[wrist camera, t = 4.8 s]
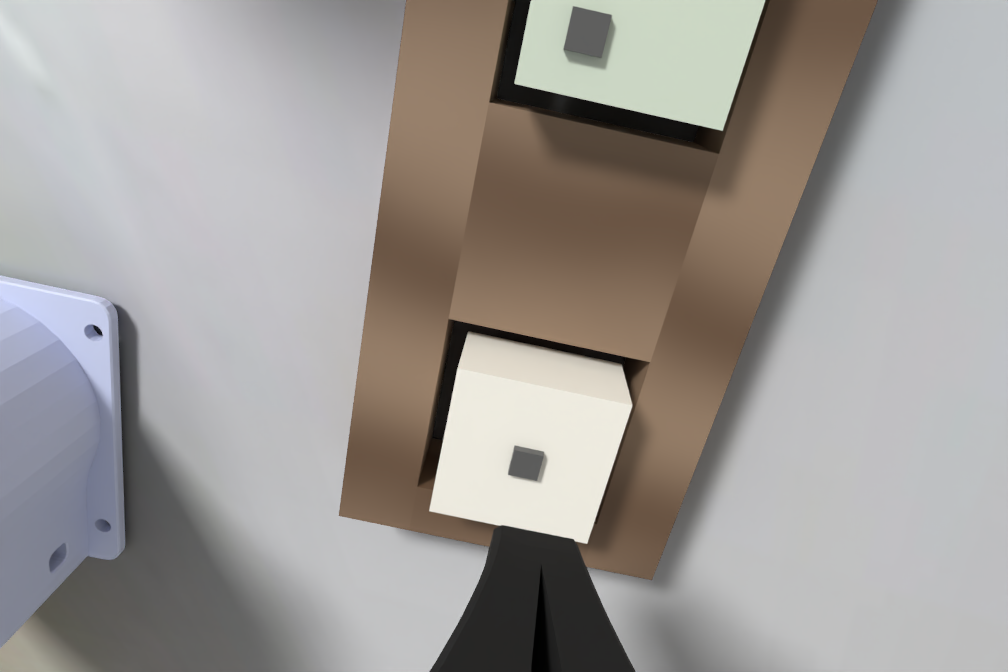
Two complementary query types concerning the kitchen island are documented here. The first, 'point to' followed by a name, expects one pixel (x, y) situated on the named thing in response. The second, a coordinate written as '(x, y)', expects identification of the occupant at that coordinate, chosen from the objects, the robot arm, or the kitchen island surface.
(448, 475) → the one dot button
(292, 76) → the kitchen island surface
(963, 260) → the kitchen island surface
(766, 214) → the button panel
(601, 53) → the two dot button
